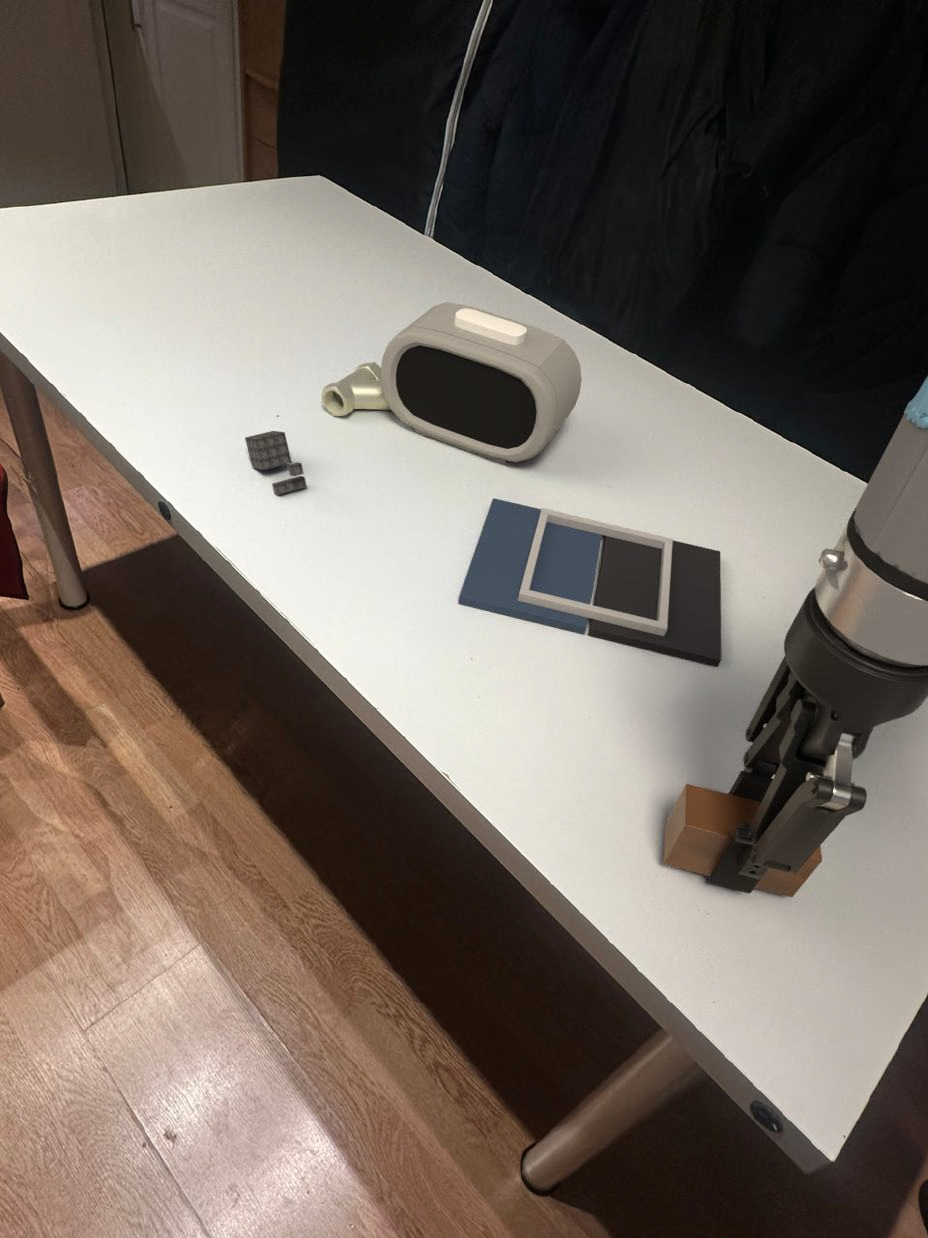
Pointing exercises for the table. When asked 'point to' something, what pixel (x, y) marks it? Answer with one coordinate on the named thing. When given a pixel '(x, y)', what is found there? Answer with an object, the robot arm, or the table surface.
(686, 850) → the brown rectangular block
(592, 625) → the back pads
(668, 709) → the table surface
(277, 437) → the building blocks
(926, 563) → the robot arm
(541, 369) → the alarm clock
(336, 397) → the pipe fitting
